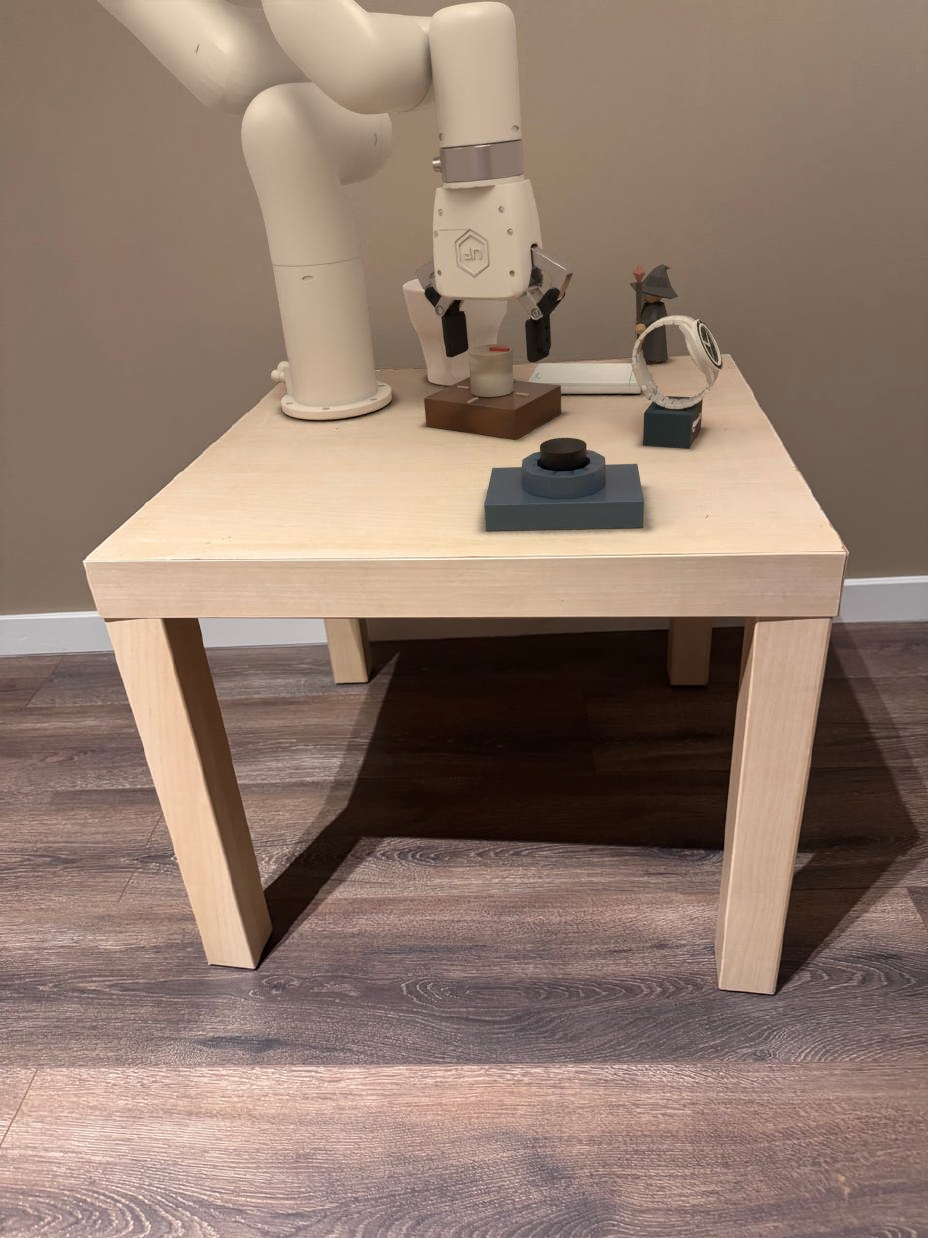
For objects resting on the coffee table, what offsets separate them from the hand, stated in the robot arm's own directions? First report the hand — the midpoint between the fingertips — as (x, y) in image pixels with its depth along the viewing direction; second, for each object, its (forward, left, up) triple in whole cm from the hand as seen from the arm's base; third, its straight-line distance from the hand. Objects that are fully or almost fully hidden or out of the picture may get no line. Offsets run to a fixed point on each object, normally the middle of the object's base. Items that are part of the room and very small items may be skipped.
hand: (497, 356), depth 91 cm
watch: (+18, +2, -7) cm, 20 cm away
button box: (+17, -18, -7) cm, 26 cm away
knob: (-1, 0, -4) cm, 4 cm away
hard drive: (+2, +15, -7) cm, 17 cm away
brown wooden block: (-1, 0, -7) cm, 7 cm away
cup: (-14, +13, -7) cm, 20 cm away
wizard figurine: (+5, +26, -7) cm, 27 cm away
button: (+17, -18, -3) cm, 25 cm away
